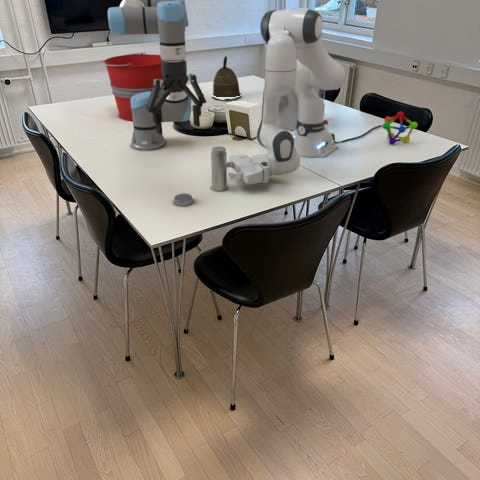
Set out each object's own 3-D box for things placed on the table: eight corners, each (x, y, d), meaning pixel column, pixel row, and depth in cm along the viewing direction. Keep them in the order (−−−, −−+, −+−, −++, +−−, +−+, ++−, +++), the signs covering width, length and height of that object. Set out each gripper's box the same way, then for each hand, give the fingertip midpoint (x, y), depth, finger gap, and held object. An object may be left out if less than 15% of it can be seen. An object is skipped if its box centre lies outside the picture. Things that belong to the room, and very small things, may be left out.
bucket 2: (296, 138, 215) (301, 78, 201) (255, 124, 234) (256, 68, 219) (335, 125, 232) (342, 70, 217) (294, 113, 251) (297, 61, 236)
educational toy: (377, 146, 209) (379, 114, 202) (384, 138, 219) (386, 107, 211) (411, 149, 202) (415, 116, 195) (417, 141, 212) (420, 109, 204)
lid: (175, 198, 160) (175, 193, 159) (193, 198, 160) (192, 193, 159) (173, 206, 155) (173, 201, 154) (191, 206, 155) (191, 201, 154)
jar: (220, 192, 164) (219, 152, 156) (209, 188, 167) (207, 149, 159) (229, 187, 168) (229, 148, 160) (218, 183, 171) (218, 144, 163)
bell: (227, 105, 294) (202, 96, 282) (238, 66, 289) (213, 55, 277) (243, 108, 280) (217, 98, 268) (255, 66, 275) (229, 55, 263)
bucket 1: (119, 105, 264) (111, 51, 248) (177, 106, 263) (173, 52, 247) (101, 123, 234) (92, 63, 218) (167, 124, 233) (162, 63, 218)
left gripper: (140, 66, 124) (148, 139, 135) (215, 57, 136) (217, 125, 147) (129, 62, 129) (138, 133, 140) (203, 54, 141) (205, 120, 152)
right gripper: (249, 149, 176) (216, 153, 172) (270, 168, 159) (234, 173, 155) (249, 164, 179) (216, 168, 175) (269, 184, 163) (234, 189, 159)
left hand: (178, 129), depth 144 cm, fingers open, 13 cm apart
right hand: (225, 171), depth 165 cm, fingers open, 8 cm apart
